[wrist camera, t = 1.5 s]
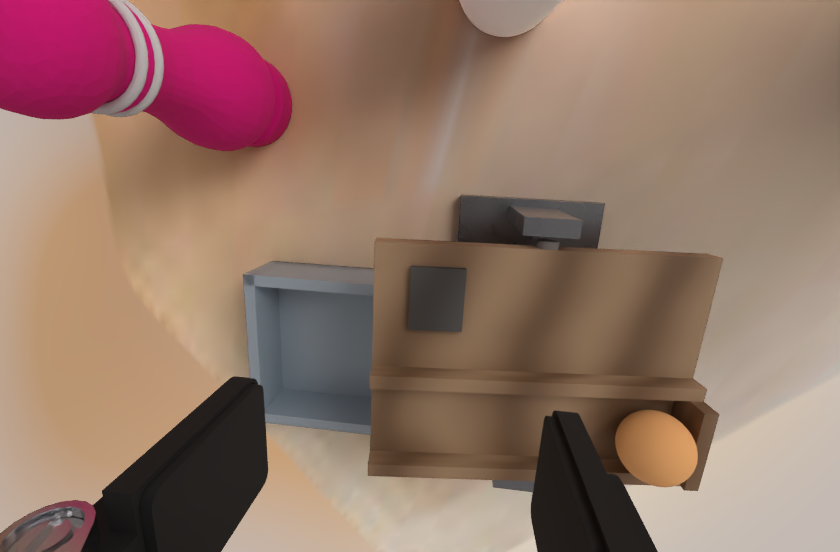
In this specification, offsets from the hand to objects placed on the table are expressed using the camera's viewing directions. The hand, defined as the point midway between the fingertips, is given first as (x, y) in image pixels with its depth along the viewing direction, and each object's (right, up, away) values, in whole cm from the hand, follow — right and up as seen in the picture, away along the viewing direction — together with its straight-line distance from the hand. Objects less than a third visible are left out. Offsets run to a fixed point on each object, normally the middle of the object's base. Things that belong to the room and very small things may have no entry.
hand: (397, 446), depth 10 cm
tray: (+7, -1, +14) cm, 16 cm away
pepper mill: (-12, +17, +20) cm, 29 cm away
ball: (+14, -5, +12) cm, 19 cm away
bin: (-5, -1, +24) cm, 24 cm away
